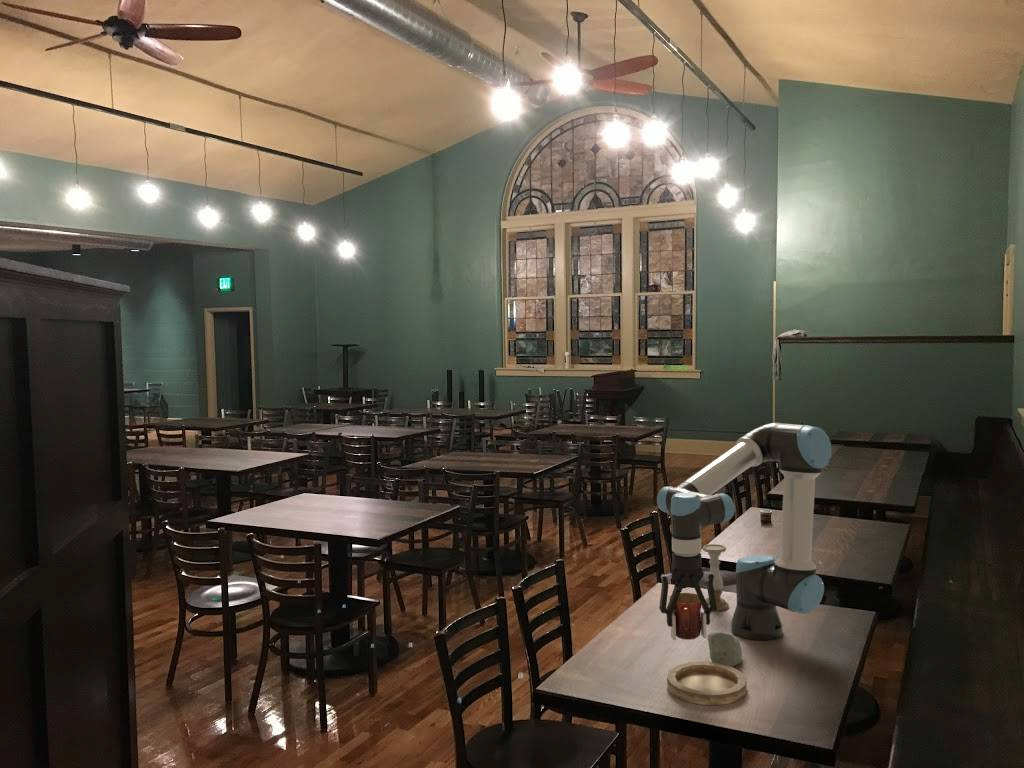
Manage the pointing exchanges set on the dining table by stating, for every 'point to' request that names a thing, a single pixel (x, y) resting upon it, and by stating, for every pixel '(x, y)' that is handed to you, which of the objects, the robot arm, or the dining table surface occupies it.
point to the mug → (688, 616)
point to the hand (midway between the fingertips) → (688, 636)
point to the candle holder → (716, 574)
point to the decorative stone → (724, 648)
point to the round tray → (706, 683)
